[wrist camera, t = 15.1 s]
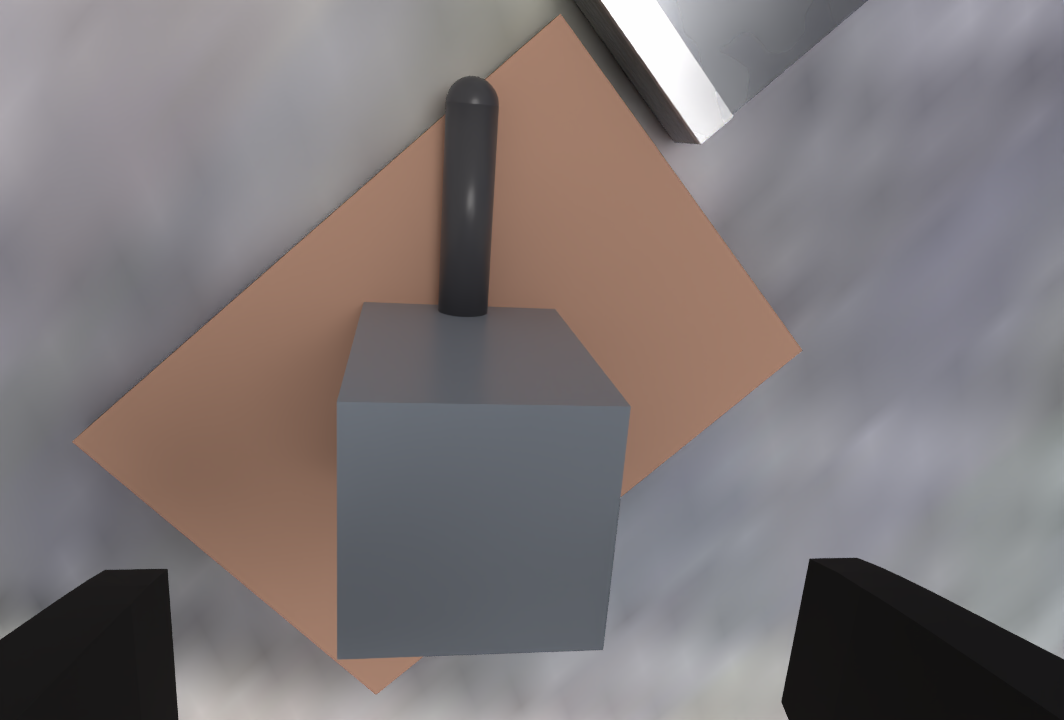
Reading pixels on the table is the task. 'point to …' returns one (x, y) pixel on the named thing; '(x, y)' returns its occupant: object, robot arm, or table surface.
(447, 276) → the plug
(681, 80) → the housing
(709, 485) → the table surface
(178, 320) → the table surface
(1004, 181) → the table surface
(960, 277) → the table surface
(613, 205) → the mat
